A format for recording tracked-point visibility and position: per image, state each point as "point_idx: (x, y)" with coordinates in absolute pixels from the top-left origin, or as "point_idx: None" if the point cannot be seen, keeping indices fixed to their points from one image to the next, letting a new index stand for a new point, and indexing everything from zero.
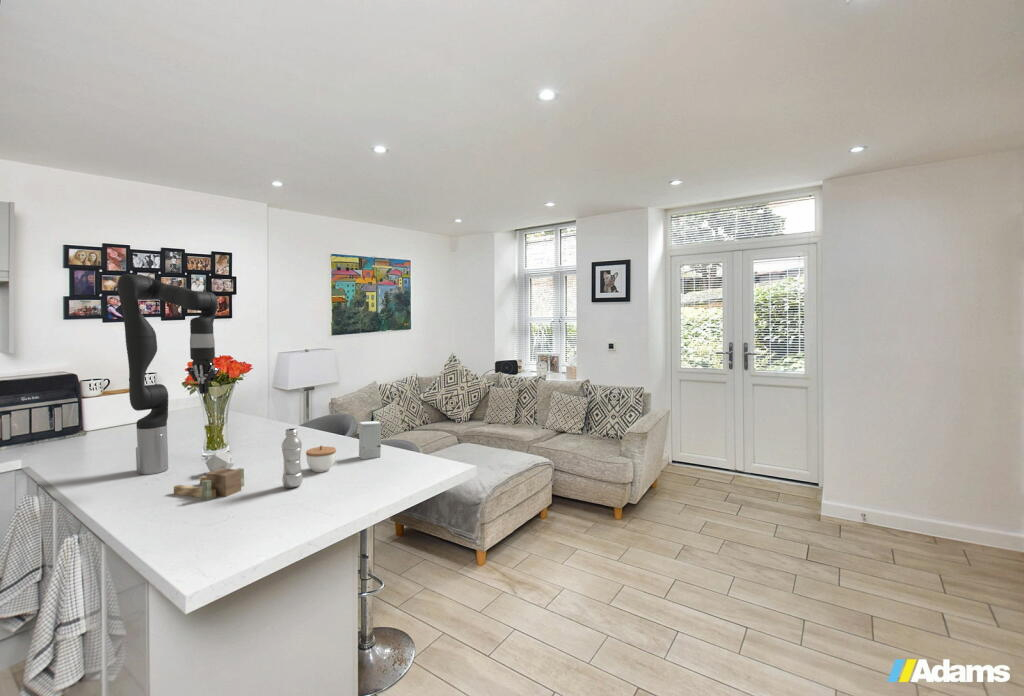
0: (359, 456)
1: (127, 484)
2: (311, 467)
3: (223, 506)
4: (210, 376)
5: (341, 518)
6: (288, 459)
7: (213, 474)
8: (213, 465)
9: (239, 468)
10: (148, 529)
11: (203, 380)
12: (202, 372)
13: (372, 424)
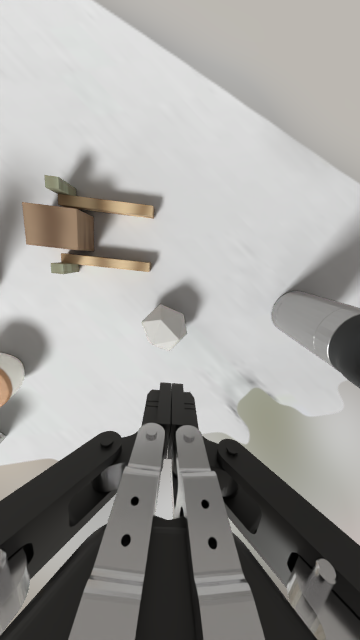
0: (2, 434)
1: (280, 240)
2: (4, 353)
3: (8, 163)
4: (33, 479)
5: None
6: None
7: (56, 206)
8: (160, 308)
9: (61, 272)
10: (32, 21)
11: (137, 444)
12: (111, 524)
13: None
